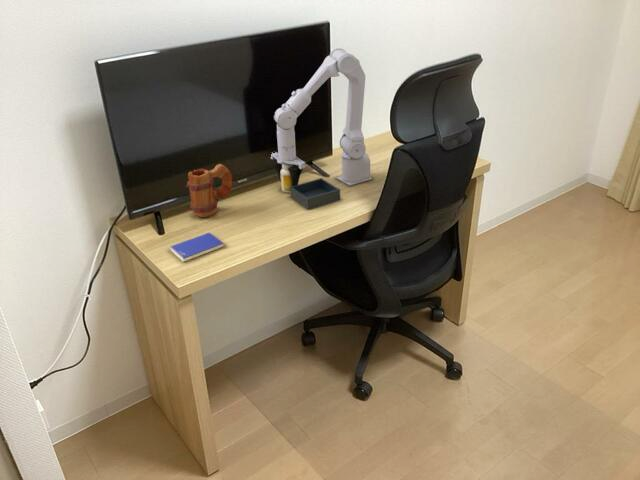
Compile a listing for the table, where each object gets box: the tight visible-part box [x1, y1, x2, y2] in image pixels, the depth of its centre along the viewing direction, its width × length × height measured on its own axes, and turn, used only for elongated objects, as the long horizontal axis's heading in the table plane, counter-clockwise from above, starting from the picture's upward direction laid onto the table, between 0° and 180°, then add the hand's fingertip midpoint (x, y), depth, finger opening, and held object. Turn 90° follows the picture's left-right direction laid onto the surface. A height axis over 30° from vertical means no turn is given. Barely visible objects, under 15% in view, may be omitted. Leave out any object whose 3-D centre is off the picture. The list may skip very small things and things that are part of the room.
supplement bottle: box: [280, 163, 292, 194], centre depth 193 cm, size 5×5×10 cm
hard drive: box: [169, 232, 224, 262], centre depth 163 cm, size 2×8×12 cm
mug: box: [185, 163, 233, 218], centre depth 180 cm, size 15×8×15 cm, turn 117°
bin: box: [290, 177, 341, 210], centre depth 188 cm, size 12×11×4 cm
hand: (288, 183), depth 195 cm, fingers closed on supplement bottle, 5 cm apart
